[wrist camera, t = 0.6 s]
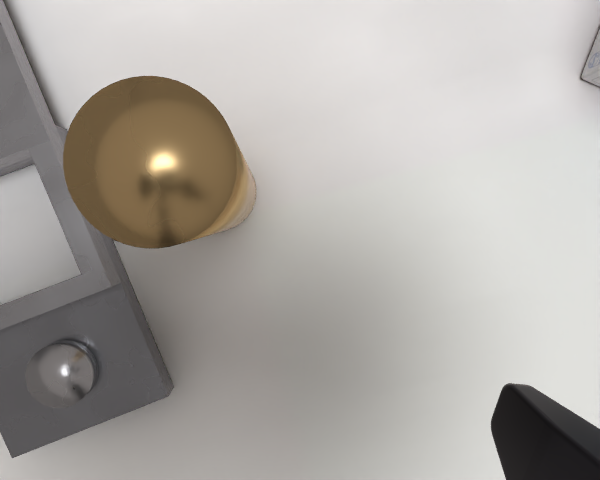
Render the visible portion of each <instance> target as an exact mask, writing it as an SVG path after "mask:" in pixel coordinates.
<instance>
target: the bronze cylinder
mask: <svg viewBox="0 0 600 480" xmlns="http://www.w3.org/2000/svg"><path fill="white" fill-rule="evenodd" d="M63 170H64V176H65V181H66V184H67V188H68V191H69V193H70V195H71V197H72V200H73V202H74V203H75V205H76V206H77V208H78V210H79V211H80V212H81V214H82V215H83V216H84V217H85V219H86V220H87V221H88V222H89V223H90V224H92V225H93V226H94V227H95V228H96V229H97V230H99V231H100V232H101V233H103V234H104V235H106V236H108V237H110V238H112V239H113V240H116V241H118V242H121V243H123V244H126V245H130V246H134V247H140V248H164V247H170V246H174V245H178V244H181V243H185V242H188V241H191V240H195V239H198V238H201V237H205V236H208V235H211V234H215V233H218V232H221V231H225V230H228V229H231V228H233V227H235V226H237V225H239V224H240V223H242V222H243V221H244V220H245V219H246V218H247V217H248V215H249V214H250V212H251V211H252V209H253V206H254V203H255V200H256V184H255V181H254V178H253V175H252V173H251V171H250V169H249V167H248V165H247V163H246V161H245V159H244V157H243V155H242V153H241V151H240V149H239V147H238V145H237V143H236V141H235V139H234V137H233V135H232V133H231V130H230V128H229V126H228V125H227V123H226V121H225V119H224V118H223V116H222V115H221V113H220V112H219V111H218V109H217V108H216V107H215V106H214V105H213V104H212V103H211V102H210V101H209V100H208V99H207V98H206V97H205V96H203V95H202V94H201V93H200V92H198V91H197V90H195V89H193V88H192V87H190V86H188V85H186V84H183V83H181V82H179V81H176V80H172V79H169V78H164V77H157V76H139V77H132V78H128V79H124V80H120V81H118V82H115V83H113V84H110V85H109V86H107V87H105V88H103V89H101V90H100V91H99V92H97V93H96V94H95V95H93V96H92V97H91V98H90V99H89V100H88V101H87V102H86V103H85V104H84V105H83V106H82V108H81V109H80V110H79V111H78V113H77V114H76V116H75V118H74V119H73V121H72V123H71V125H70V128H69V130H68V133H67V136H66V140H65V144H64V151H63Z"/></svg>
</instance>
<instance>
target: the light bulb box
mask: <svg viewBox="0 0 600 480" xmlns="http://www.w3.org/2000/svg"><path fill="white" fill-rule="evenodd" d="M582 79H584V80H586V81H588V82H590V83H592V84H595V85H597V86H600V29H599V32H598V35H597V37H596V40H595V42H594V45H593V47H592V50H591V52H590V55H589V57H588V60H587V63H586V65H585V68H584V70H583V73H582Z"/></svg>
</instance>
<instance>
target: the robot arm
mask: <svg viewBox="0 0 600 480" xmlns="http://www.w3.org/2000/svg"><path fill="white" fill-rule="evenodd" d="M491 431H492V435H493V439H494V442H495V445H496V448H497V452H498V455H499V458H500V461H501V465H502V468H503V471H504V474H505V478H506V480H600V429H599V428H597V427H596V426H594V425H592V424H591V423H589V422H588V421H586V420H584V419H583V418H581V417H580V416H578V415H576V414H575V413H573V412H572V411H570V410H568V409H567V408H565V407H564V406H562V405H560V404H559V403H557V402H556V401H554V400H552V399H551V398H549V397H548V396H546V395H544V394H543V393H541V392H540V391H538V390H536V389H535V388H533V387H531V386H529V385H523V384H512V383H508V384H506V385H505V386H504V387H503V388H502V391H501V393H500V396H499V399H498V402H497V405H496V408H495V411H494V413H493V416H492V420H491Z"/></svg>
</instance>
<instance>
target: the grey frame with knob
mask: <svg viewBox="0 0 600 480" xmlns="http://www.w3.org/2000/svg"><path fill="white" fill-rule="evenodd" d="M67 133H68V132H67V129H64V128H62V127H59V126H57V125H55V124H54V121H53V119H52V116H51V114H50V112H49V109H48V107H47V104H46V102H45V100H44V97H43V95H42V92H41V90H40V88H39V85H38V83H37V80H36V78H35V76H34V73H33V71H32V68H31V66H30V64H29V61H28V59H27V57H26V54H25V52H24V49H23V47H22V45H21V42H20V40H19V37H18V35H17V33H16V30H15V28H14V25H13V23H12V21H11V18H10V16H9V13H8V11H7V9H6V6H5V4H4V1H3V0H0V176H2V175H5V174H8V173H10V172H13V171H16V170H19V169H21V168H24V167H27V166H29V165H32V164H35V165H36V168H37V170H38V173H39V175H40V177H41V180H42V182H43V184H44V187H45V189H46V191H47V194H48V196H49V198H50V201H51V203H52V206H53V208H54V210H55V213H56V215H57V217H58V220H59V222H60V224H61V227H62V229H63V232H64V234H65V236H66V239H67V241H68V243H69V246H70V248H71V250H72V253H73V255H74V258H75V260H76V262H77V265H78V267H79V269H80V272H81V274H82V275H79V276H76V277H74V278H71V279H69V280H66V281H63V282H61V283H58V284H56V285H53V286H50V287H48V288H45V289H43V290H40V291H37V292H35V293H32V294H30V295H27V296H24V297H22V298H19V299H17V300H14V301H11V302H9V303H6V304H4V305H1V306H0V432H1V435H2V437H3V439H4V441H5V444H6V446H7V448H8V450H9V452H10V455H11V457H12V458H14V457H16V456H19V455H22V454H24V453H27V452H29V451H32V450H34V449H37V448H39V447H42V446H44V445H47V444H49V443H52V442H54V441H57V440H59V439H62V438H64V437H67V436H69V435H72V434H74V433H77V432H79V431H82V430H84V429H87V428H89V427H92V426H94V425H97V424H100V423H102V422H105V421H107V420H110V419H112V418H115V417H117V416H120V415H122V414H125V413H127V412H130V411H132V410H135V409H137V408H140V407H142V406H145V405H147V404H150V403H152V402H155V401H157V400H160V399H162V398H165V397H167V396H169V394H170V392H171V391H172V389H173V384H172V382H171V379H170V377H169V375H168V372H167V370H166V367H165V365H164V363H163V360H162V358H161V355H160V353H159V351H158V348H157V346H156V343H155V341H154V339H153V336H152V334H151V331H150V329H149V327H148V324H147V322H146V319H145V317H144V314H143V312H142V310H141V307H140V305H139V302H138V300H137V298H136V295H135V293H134V290H133V288H132V286H131V283H130V281H129V278H128V276H127V274H126V271H125V269H124V266H123V264H122V262H121V259H120V257H119V254H118V252H117V250H116V247H115V245H114V242H113V240H112V238H110V237H108V236H106V235H104V234H103V233H101V232H100V231H99V230H97V229H96V228H95V227H94V226H93V225H92V224H90V223H89V222H88V221H87V220H86V219H85V217H84V216H83V215H82V214H81V212H80V211H79V210H78V208H77V206H76V205H75V203H74V202H73V200H72V197H71V195H70V193H69V191H68V188H67V184H66V181H65V176H64V170H63V151H64V144H65V140H66V136H67Z"/></svg>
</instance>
